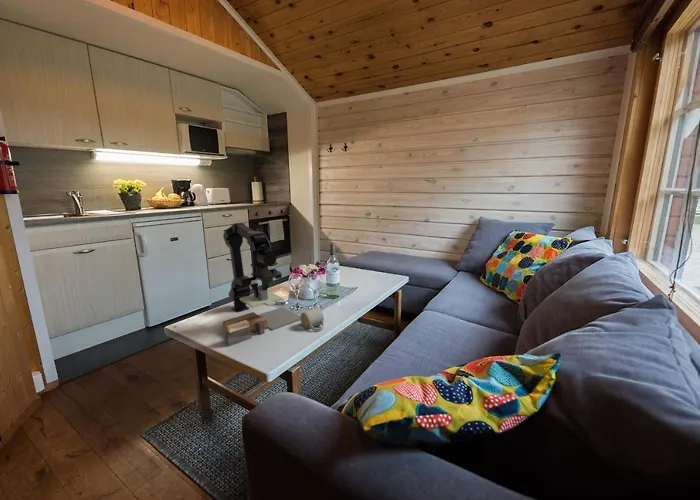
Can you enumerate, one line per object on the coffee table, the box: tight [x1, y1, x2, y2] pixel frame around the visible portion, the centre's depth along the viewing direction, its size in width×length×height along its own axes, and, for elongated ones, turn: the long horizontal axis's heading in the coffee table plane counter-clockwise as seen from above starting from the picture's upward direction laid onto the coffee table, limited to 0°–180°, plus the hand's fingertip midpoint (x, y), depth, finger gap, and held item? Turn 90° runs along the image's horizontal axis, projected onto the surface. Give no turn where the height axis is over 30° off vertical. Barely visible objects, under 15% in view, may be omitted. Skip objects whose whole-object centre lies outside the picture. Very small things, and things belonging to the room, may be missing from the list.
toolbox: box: [222, 311, 268, 347], centre depth 134 cm, size 15×18×5 cm
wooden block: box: [227, 320, 249, 333], centre depth 126 cm, size 2×8×2 cm, turn 135°
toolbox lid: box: [240, 287, 283, 308], centre depth 139 cm, size 15×14×4 cm
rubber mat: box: [258, 306, 301, 331], centre depth 148 cm, size 18×17×1 cm
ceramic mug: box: [300, 306, 325, 332], centre depth 139 cm, size 11×8×8 cm
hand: (260, 296), depth 140 cm, fingers closed on toolbox lid, 3 cm apart
